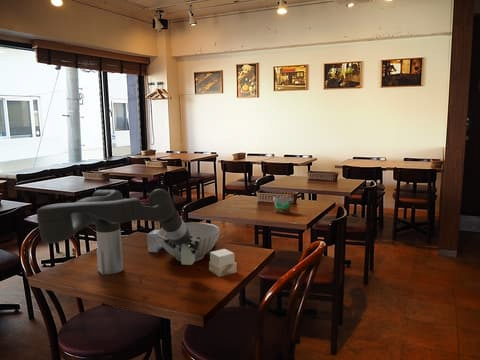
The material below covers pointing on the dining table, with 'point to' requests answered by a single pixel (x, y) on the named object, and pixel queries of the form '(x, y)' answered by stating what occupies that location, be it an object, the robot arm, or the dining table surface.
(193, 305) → the dining table surface
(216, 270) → the bottom block
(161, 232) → the decorative bowl
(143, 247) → the dining table surface
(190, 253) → the pale green block
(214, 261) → the white block
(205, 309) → the dining table surface
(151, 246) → the medicine box
